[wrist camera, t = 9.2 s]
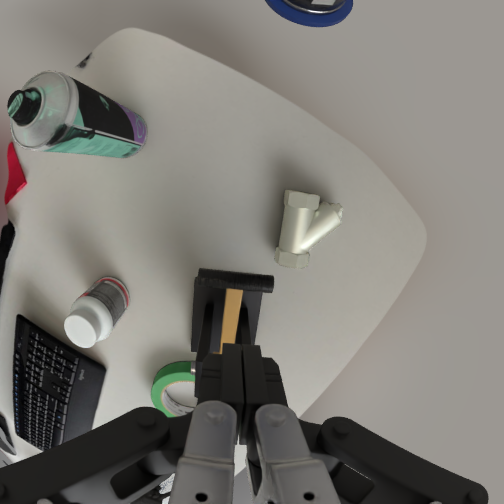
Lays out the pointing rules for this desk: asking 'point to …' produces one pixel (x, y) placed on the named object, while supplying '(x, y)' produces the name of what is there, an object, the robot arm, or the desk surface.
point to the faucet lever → (233, 295)
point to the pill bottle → (97, 312)
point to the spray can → (72, 119)
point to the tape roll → (165, 379)
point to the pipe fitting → (304, 227)
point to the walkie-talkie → (152, 497)
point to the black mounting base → (219, 323)
